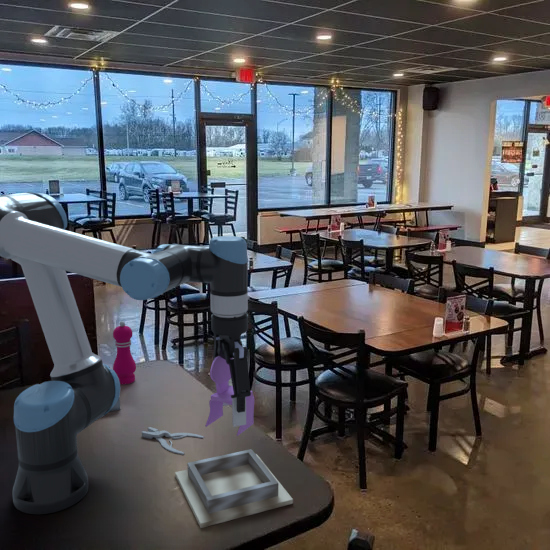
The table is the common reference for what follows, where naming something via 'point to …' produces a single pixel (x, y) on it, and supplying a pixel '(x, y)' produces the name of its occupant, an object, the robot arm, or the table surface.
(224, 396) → the toy chair
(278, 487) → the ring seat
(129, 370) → the pepper mill
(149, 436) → the pliers
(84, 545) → the table surface
